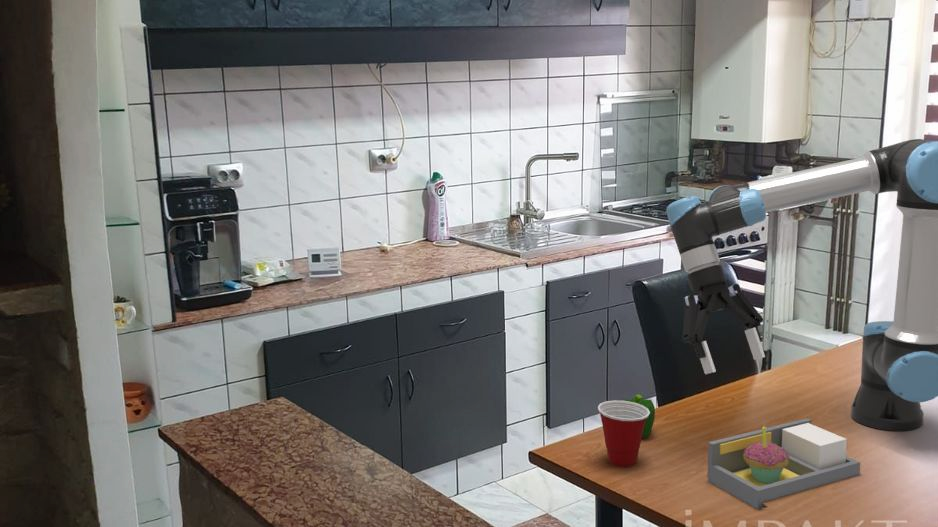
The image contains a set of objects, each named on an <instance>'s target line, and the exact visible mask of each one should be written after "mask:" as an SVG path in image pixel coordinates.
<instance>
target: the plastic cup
mask: <svg viewBox="0 0 938 527" xmlns="http://www.w3.org/2000/svg"><path fill="white" fill-rule="evenodd" d="M597 409H598V413H599V416H600V419H601V420H600V421H601V424H602V429H603V437H604V443H605V448H606V452H607V458H608V461H609V463H610V464H611V465H613V466H614V467H615V466H616V467H619V468H621V467H622V468H626V467H633V466H635V465H636V463H637V461H638V459H639V450H640V448H641V444H642V439H643V438H642V433H643V428H644V425H645V421H646V419H647V417H648V416H649V414H650V411H649V409H648V408H646V407H644V406H643V405H640V404H637V403H634V402H628V401H621V400H606V401H603V402H601V403H599V405H598V406H597Z"/></svg>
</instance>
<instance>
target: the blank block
mask: <svg viewBox="0 0 938 527" xmlns="http://www.w3.org/2000/svg"><path fill="white" fill-rule="evenodd" d="M847 440H848V439H847V438H846V437H843V436H842V435H841V436H840V435H838V434H836V433H834V432H831V431H829V430H826V429H824V428H821V427H819V426H816V425H815V424H812V423H811V424H810V423H806V424H801V425H797V426H793V427H789V428H785V429H782V448H783V449H785V451H786V452H787V453H788V455H790V456H792V457H794V458H796V459H799V460H801V461H803V462H805V463H807V464H809V465H811V466H813V467H815V468H818V469H820V470H822V469H825V468H829V467H833V466H836V465H840V464H843V463H846V456H847V444H848V443H847V442H848V441H847Z"/></svg>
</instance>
